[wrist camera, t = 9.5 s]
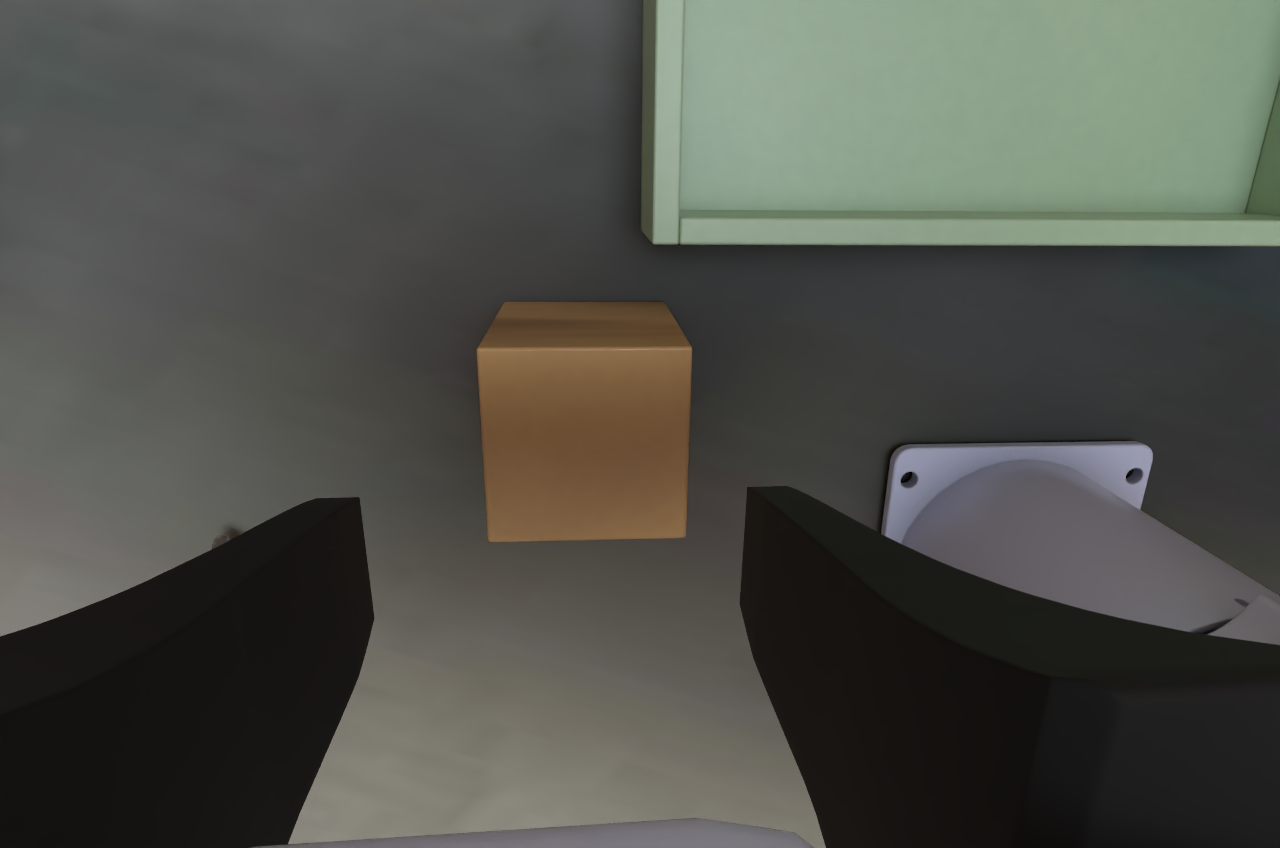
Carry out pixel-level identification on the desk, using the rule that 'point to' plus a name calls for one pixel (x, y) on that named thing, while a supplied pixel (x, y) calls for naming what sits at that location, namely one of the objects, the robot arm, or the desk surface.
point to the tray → (961, 122)
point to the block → (585, 421)
